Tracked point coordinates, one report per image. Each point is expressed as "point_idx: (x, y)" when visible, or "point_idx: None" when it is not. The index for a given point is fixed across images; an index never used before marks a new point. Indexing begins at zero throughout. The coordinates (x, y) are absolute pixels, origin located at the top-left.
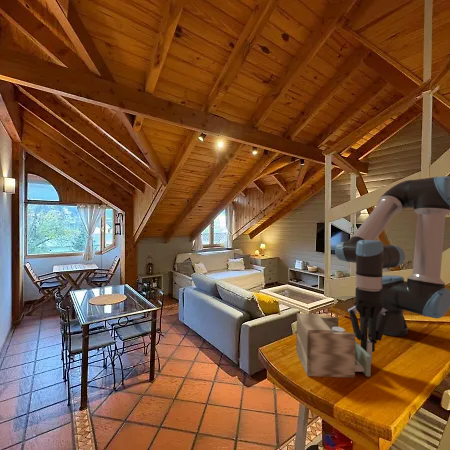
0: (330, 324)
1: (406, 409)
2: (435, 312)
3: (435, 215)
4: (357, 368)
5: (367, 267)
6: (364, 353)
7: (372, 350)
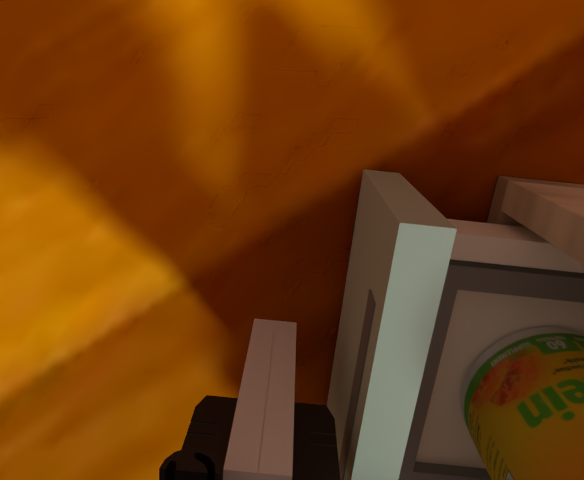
0: None
1: None
2: None
3: None
4: (468, 229)
5: None
6: (431, 300)
7: (221, 406)
